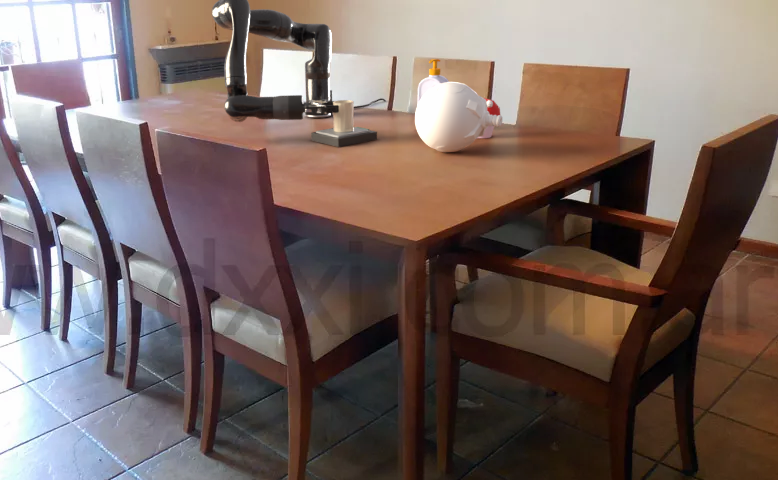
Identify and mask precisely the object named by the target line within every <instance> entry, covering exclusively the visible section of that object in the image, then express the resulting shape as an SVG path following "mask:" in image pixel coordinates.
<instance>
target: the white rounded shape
mask: <svg viewBox="0 0 778 480" xmlns="http://www.w3.org/2000/svg"><path fill="white" fill-rule="evenodd" d="M484 98H485V97H482V96H481V95H479V94H478V93H477V92H476V91H475V90H474V89H473V88H472V87H470V86H468V85H467V84H465V83H462V82H457V81H449V82H445V83H441V84H438V85H437V86H435V87H432V88H431V89H429V90H428V91H427V92H426V93H425V94H424V95H423V97H422V98H421V100H420V101H419V103H418V106H417V105H416V108H415V114H414V125H415V129H416V132H417V134H418V136H419V138H420V139H421V140H422V142H423V143H424V144H425V145H426V146H428V147H430V148H431V149H434V150H435V151H438V152H441V153H442V152H443V153H455V152H459V151H462V150H464V149H465V148H467V147H470V145H472V144H473V143H474V142H475V141H476V140H477V139H478V138H477V137H480V136H483V135H484V132H485V129H486V128H487V127H488V126H489V125H490V126H494V128H497V127H498V128H500V127H501V126H502V125H503V116H502V115H501V114H500V115H498V116H497V115H494V116H493V115H490V114H489V112H488V111H487V102H486V100H485V99H484Z"/></svg>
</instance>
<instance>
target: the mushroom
mask: <svg viewBox="0 0 778 480" xmlns="http://www.w3.org/2000/svg"><path fill="white" fill-rule="evenodd" d="M483 98H484V99H485V100H486V102H487V111H488V112H489V114H490V115H493V116H494V115H497V116H498V115H501V107H500V106H499V105H498V104H497V102H495V100H493V99H489V98H486V97H483ZM494 128H495V126H490V125H489V126H488V127H487V128H486V129H485V132H484V135H483V136H480V137H477V138H476V139H489V138H492V136H493V132H494Z"/></svg>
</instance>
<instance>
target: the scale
mask: <svg viewBox="0 0 778 480" xmlns="http://www.w3.org/2000/svg"><path fill="white" fill-rule="evenodd" d="M310 135H311V137H310V139H311V141H312V142H317V143H321V144H324V145H328V146H333V147H337V148H340V147H345V146H351V145H357V144H361V143H366V142H372V141H376V140H378V131H375V130H370V128H365V127H360V126H354V130H353V131H351V132H335V131H334V127H331V128H325V129H320V130H315V131H314V132H311V133H310Z"/></svg>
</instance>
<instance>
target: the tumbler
mask: <svg viewBox="0 0 778 480" xmlns="http://www.w3.org/2000/svg"><path fill="white" fill-rule="evenodd" d="M333 101H334V102H333V105H338V106H339V112H338V113H333V118H332V119H333V128H334V131H335V132H351V131H353V130H354V127H355V108H354V107H355V101H354V100H351V99H350V100H349V99H340V100H339V99H337V100H333Z"/></svg>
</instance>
